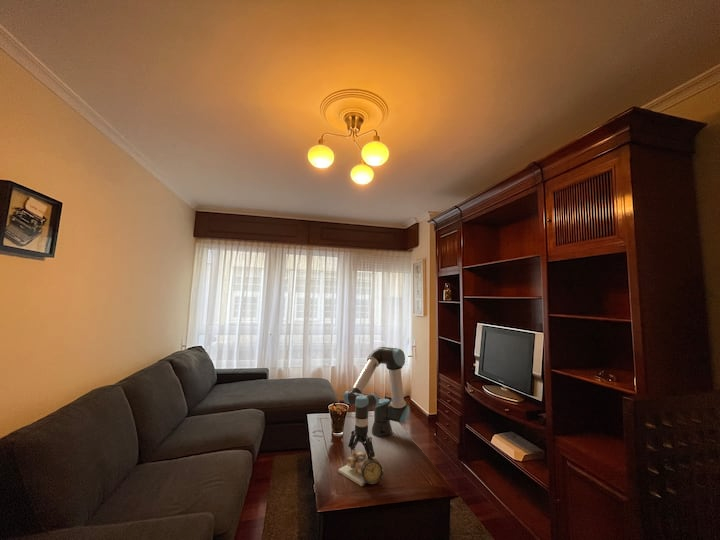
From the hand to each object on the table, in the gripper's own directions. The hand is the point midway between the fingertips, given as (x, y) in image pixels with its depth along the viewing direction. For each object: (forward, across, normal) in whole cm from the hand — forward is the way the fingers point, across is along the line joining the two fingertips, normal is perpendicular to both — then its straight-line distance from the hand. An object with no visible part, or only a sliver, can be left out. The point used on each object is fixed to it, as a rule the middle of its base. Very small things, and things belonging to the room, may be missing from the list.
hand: (360, 465), depth 163 cm
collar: (0, 0, 0) cm, 0 cm away
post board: (+4, 0, 0) cm, 4 cm away
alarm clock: (+4, +11, -4) cm, 12 cm away
